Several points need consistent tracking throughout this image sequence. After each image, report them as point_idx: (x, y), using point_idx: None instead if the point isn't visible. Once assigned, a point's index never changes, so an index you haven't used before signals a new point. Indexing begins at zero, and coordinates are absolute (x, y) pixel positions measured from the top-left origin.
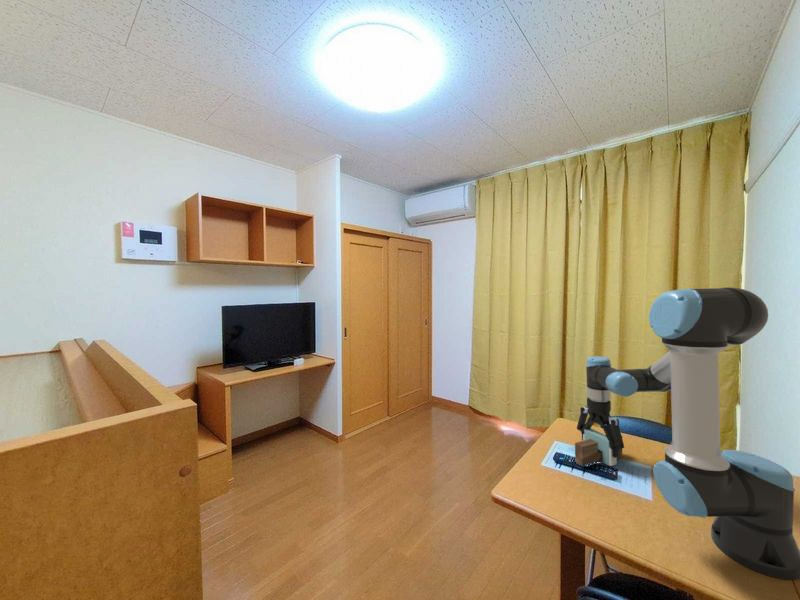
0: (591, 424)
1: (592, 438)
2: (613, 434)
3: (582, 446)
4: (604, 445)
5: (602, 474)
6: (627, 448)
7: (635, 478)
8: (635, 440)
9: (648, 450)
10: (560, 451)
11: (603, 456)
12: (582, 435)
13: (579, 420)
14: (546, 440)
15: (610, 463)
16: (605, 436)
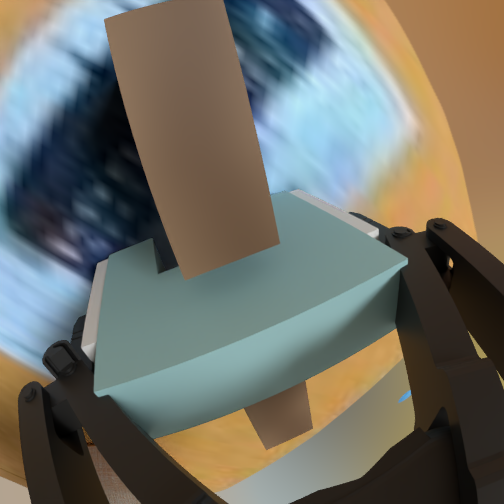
0: (414, 364)
1: (286, 272)
2: (57, 500)
3: (107, 26)
4: (140, 321)
5: (48, 170)
6: None
7: (33, 323)
8: (316, 420)
9: (254, 435)
10: (334, 67)
11: (146, 259)
12: (378, 228)
13: (502, 269)
14: (424, 86)
15: (98, 268)
16: (214, 401)
